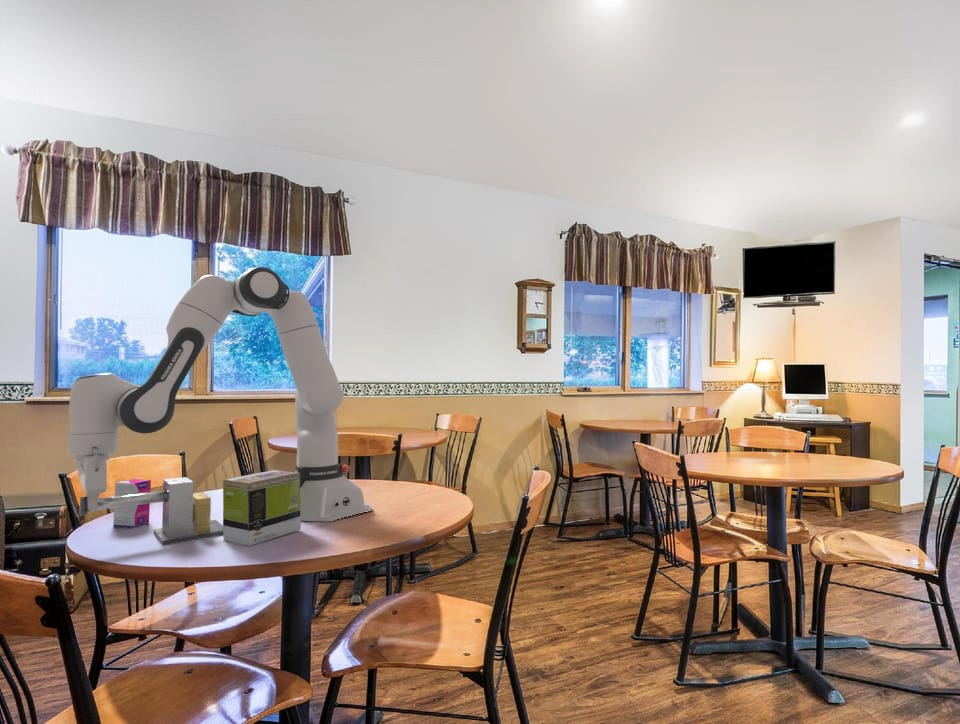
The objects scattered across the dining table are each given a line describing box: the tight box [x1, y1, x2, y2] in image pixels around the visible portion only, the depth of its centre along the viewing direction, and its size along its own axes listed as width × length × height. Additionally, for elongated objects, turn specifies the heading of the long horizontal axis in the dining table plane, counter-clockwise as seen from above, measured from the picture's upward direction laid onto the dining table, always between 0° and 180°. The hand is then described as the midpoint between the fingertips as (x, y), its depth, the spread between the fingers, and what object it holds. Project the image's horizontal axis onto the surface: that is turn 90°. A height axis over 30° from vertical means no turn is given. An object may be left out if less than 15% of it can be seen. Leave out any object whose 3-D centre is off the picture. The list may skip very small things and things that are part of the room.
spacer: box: [192, 491, 212, 533], centre depth 130 cm, size 3×8×8 cm, turn 41°
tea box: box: [222, 469, 302, 547], centre depth 127 cm, size 15×10×15 cm
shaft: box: [79, 490, 168, 517], centre depth 121 cm, size 19×4×4 cm, turn 130°
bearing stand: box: [153, 476, 223, 546], centre depth 128 cm, size 14×12×13 cm
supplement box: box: [112, 478, 152, 529], centre depth 136 cm, size 6×6×12 cm
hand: (91, 507), depth 116 cm, fingers closed on shaft, 2 cm apart
